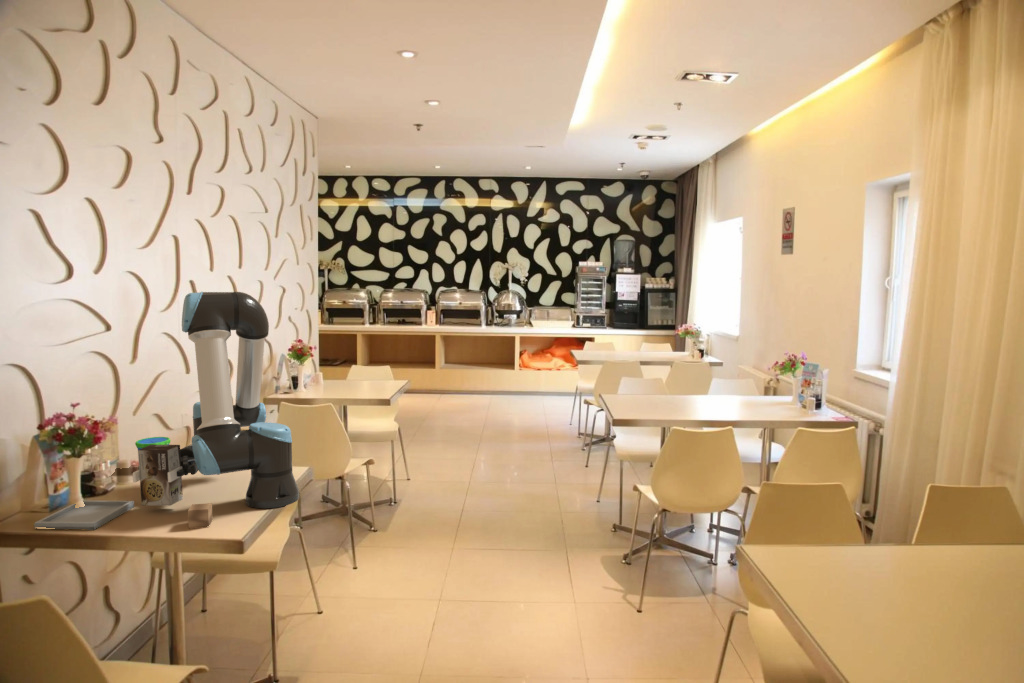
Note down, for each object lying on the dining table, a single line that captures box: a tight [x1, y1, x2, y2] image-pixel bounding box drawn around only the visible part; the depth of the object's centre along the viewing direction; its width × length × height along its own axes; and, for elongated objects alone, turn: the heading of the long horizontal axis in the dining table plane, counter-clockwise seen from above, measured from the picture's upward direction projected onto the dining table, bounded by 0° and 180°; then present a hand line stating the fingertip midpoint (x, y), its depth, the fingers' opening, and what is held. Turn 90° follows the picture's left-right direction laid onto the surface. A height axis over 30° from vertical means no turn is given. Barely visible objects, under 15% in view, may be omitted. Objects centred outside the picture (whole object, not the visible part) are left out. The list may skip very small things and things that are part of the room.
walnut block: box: [187, 502, 214, 529], centre depth 181 cm, size 5×5×5 cm
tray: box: [33, 499, 135, 531], centre depth 186 cm, size 16×18×2 cm
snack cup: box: [134, 436, 171, 451], centre depth 234 cm, size 16×10×10 cm
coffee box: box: [137, 444, 184, 506], centre depth 191 cm, size 9×6×16 cm
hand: (151, 477), depth 186 cm, fingers closed on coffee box, 9 cm apart
